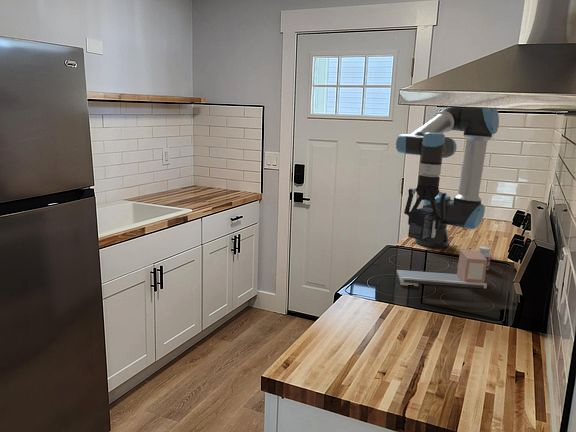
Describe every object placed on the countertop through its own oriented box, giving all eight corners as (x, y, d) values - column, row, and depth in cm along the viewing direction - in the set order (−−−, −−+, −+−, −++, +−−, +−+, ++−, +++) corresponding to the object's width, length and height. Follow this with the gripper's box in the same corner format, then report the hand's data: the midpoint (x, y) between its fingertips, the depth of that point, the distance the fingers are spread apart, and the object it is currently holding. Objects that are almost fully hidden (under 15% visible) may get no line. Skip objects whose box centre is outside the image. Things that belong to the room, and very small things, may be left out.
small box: (421, 232, 189) (425, 206, 186) (436, 236, 184) (440, 210, 182) (406, 236, 181) (410, 209, 179) (421, 241, 177) (426, 213, 174)
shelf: (396, 272, 187) (397, 265, 187) (475, 278, 185) (476, 271, 184) (400, 285, 175) (401, 277, 174) (486, 291, 172) (487, 284, 172)
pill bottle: (489, 273, 191) (493, 250, 189) (475, 272, 192) (478, 249, 190) (487, 269, 196) (490, 246, 194) (473, 267, 197) (476, 245, 195)
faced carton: (456, 275, 184) (460, 250, 182) (475, 276, 184) (479, 251, 181) (463, 284, 174) (467, 258, 172) (483, 286, 174) (487, 260, 171)
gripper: (399, 172, 179) (392, 232, 184) (455, 179, 169) (447, 242, 174) (405, 171, 185) (398, 228, 191) (460, 177, 176) (451, 238, 181)
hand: (422, 235), depth 182 cm, fingers closed on small box, 7 cm apart
